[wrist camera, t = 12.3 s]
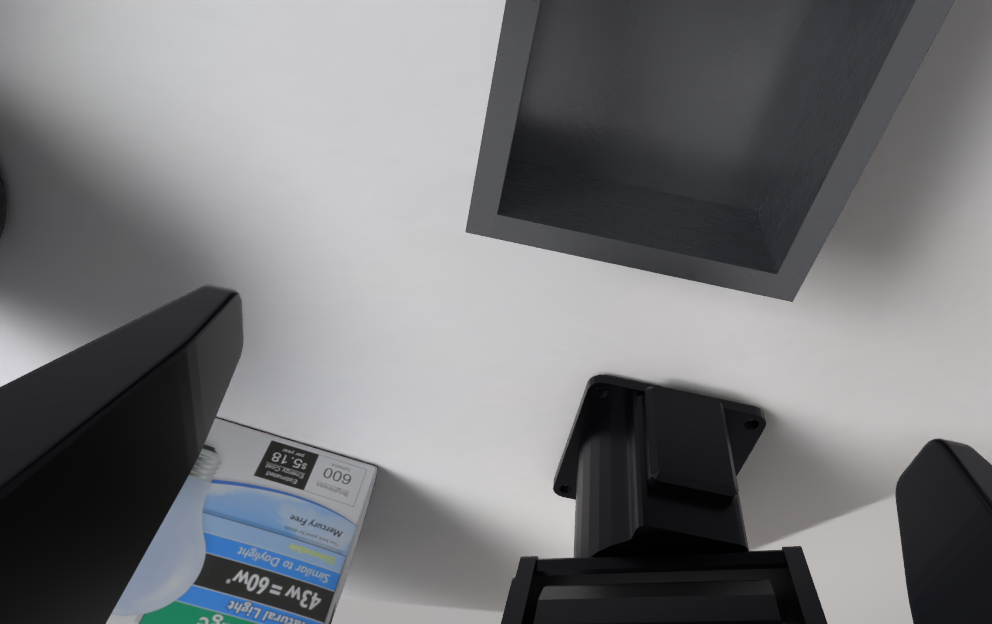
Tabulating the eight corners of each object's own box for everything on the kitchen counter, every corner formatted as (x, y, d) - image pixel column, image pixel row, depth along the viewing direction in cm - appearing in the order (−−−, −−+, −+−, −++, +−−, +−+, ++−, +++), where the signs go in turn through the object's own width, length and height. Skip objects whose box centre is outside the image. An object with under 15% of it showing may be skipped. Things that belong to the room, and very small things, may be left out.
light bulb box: (382, 462, 31) (298, 732, 22) (355, 549, 35) (275, 806, 27) (130, 389, 30) (-58, 641, 22) (132, 487, 34) (-26, 732, 26)
